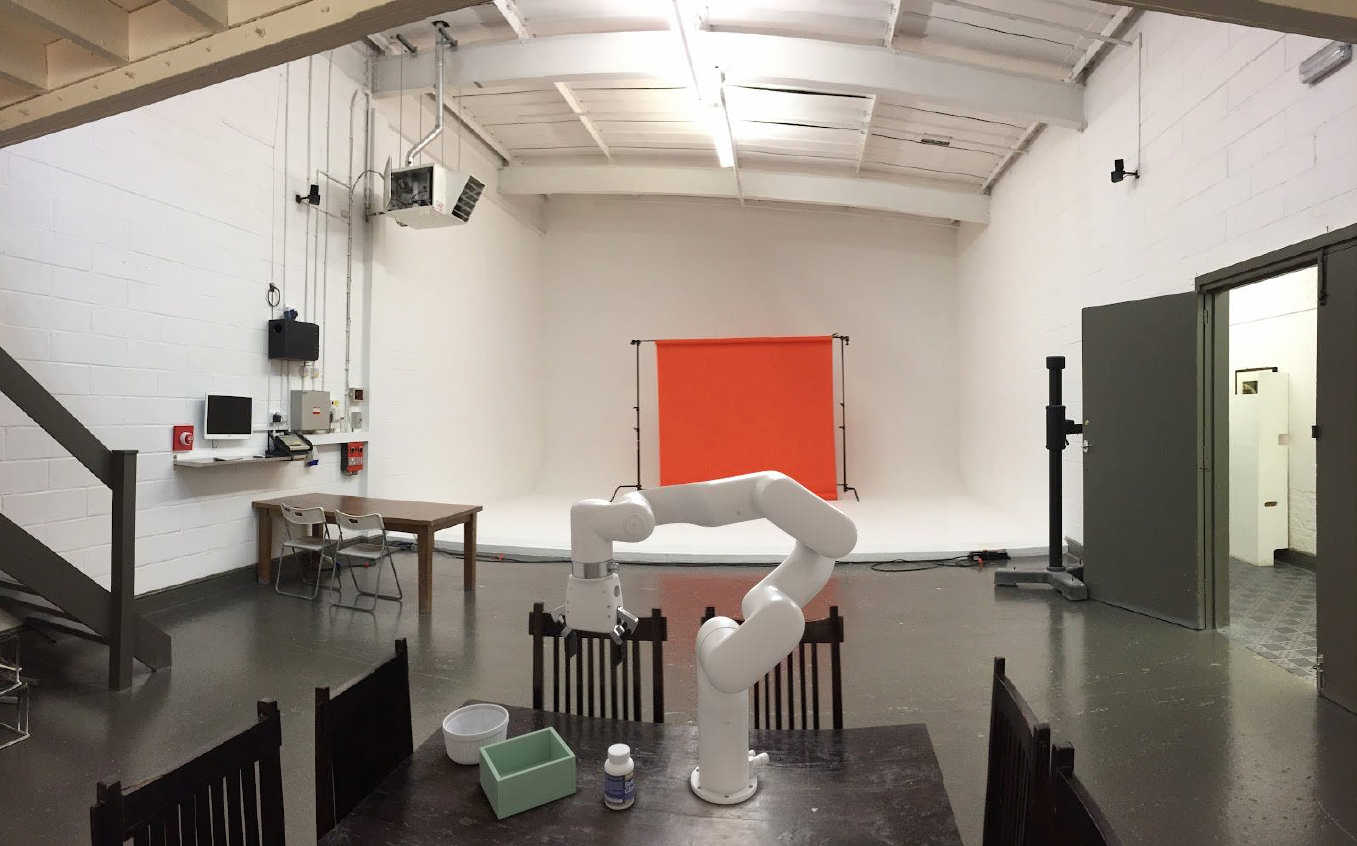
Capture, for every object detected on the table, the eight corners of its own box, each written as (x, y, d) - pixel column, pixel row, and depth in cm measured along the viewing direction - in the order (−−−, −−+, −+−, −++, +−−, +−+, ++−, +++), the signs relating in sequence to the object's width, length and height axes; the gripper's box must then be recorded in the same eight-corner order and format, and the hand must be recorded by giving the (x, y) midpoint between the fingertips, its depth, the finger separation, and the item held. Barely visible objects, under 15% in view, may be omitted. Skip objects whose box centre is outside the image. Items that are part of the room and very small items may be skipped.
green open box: (552, 759, 133) (551, 726, 132) (576, 792, 122) (575, 755, 122) (480, 782, 125) (479, 747, 125) (498, 819, 114) (497, 781, 114)
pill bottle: (629, 812, 116) (628, 759, 115) (600, 808, 117) (599, 756, 117) (637, 793, 121) (637, 742, 121) (610, 790, 122) (609, 739, 122)
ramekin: (513, 731, 144) (512, 700, 143) (504, 766, 131) (503, 732, 130) (451, 736, 142) (450, 705, 142) (436, 771, 129) (435, 737, 129)
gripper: (644, 566, 120) (646, 657, 121) (561, 559, 125) (563, 646, 126) (627, 577, 112) (629, 674, 113) (540, 569, 118) (542, 661, 119)
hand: (594, 659), depth 120 cm, fingers open, 9 cm apart
